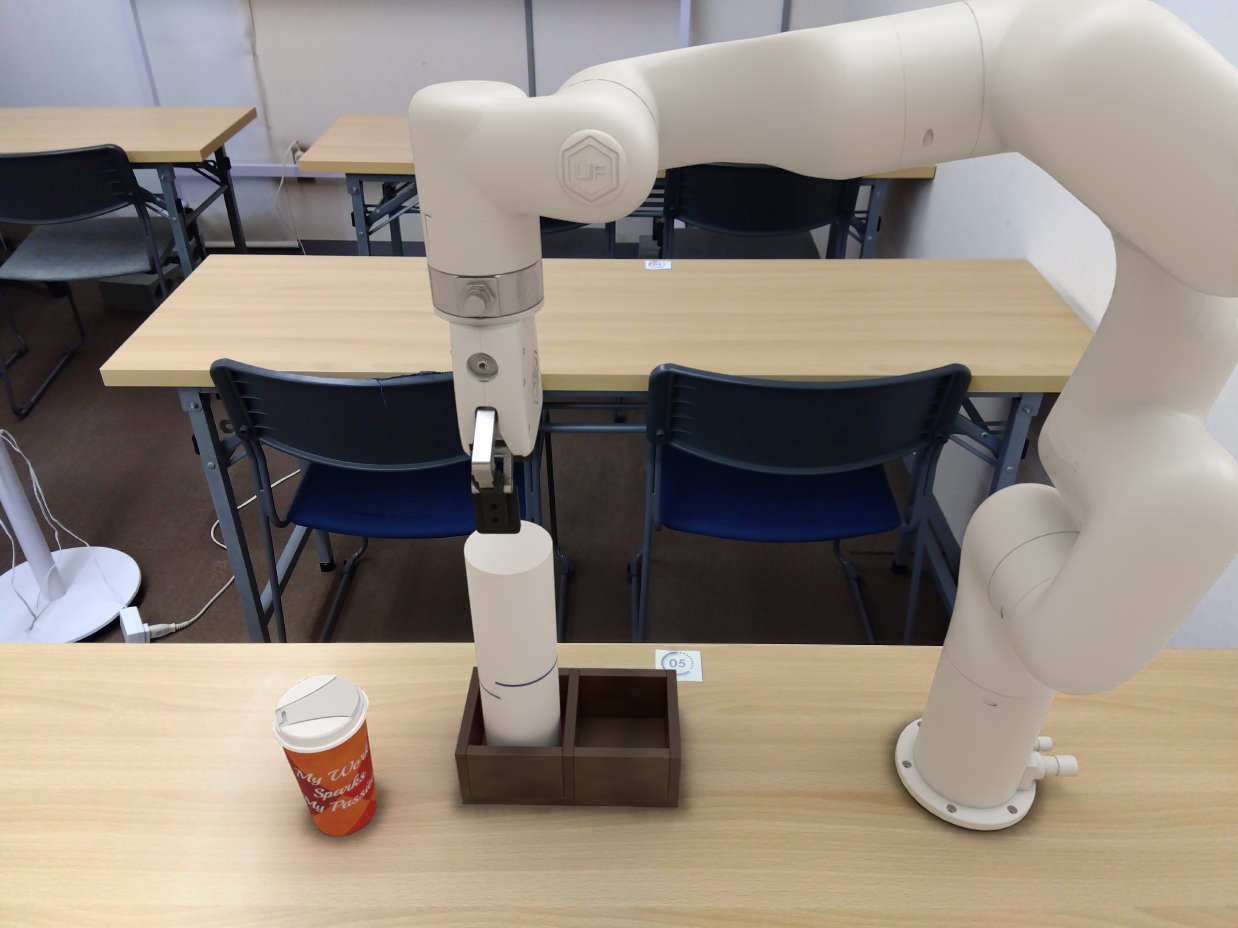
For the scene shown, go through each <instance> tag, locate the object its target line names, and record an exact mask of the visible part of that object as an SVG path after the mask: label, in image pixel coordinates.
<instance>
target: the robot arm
mask: <svg viewBox="0 0 1238 928" xmlns="http://www.w3.org/2000/svg"><path fill="white" fill-rule="evenodd" d="M407 118H408V119H407V120H408V131H409V138H410V147H411V155H412V160H413V167H414V168H413V169H414V175H415V176H414V177H415V182H416V190H417V198H418V199H417V200H418V206H419V213H420V220H421V225H422V226H421V227H422V234H423V241H424V248H425V255H426V265H427V273H428V281H429V288H430V294H431V295H430V296H431V302H432V308H433V309H432V310H433V312H434V314H435V315H436V316H437V317H438V318H440V319H441V320H444V321H446V322H448V323H449V324H448V325H449V336H450V337H449V338H450V355H451V365H452V376H453V388H454V396H455V405H456V414H457V423H458V430H459V436H460V441H461V446H462V449H463V451H464V453H466V454H467V455H468V456H470V457H471V489H470V490H471V497H472V498H471V499H472V503H473V513H474V514H473V515H474V522H475V528H476V529H475V531H476V530H477V532H478V533H480V534H518V533H519V532H520V529H521V520H522V519H521V508H520V507H521V506H520V497H519V486H518V484H514V463H516V462H517V463H518V462H519V463H523V462H525V463H529V462H532V461H533V460H534V458H535V444H536V440H537V436H538V430H539V425H540V420H541V413H542V408H543V401H544V399H543V398H544V395H543V394H544V393H543V392H544V391H543V382H542V373H541V364H540V354H539V345H538V343H539V342H538V335H537V326H536V324H537V323H536V316H535V315H536V314H537V313H538V312H539V311H541V310H542V309H543V307H544V306H545V285H544V269H543V254H542V238H541V221H540V217H546V218H551V219H556V220H562V221H567V222H574V223H581V224H594V225H595V224H596V225H597V224H607V223H612V222H615V221H619V220H620V219H623V218H625V217H628V216H629V215H630V214H633V212H635V211H636V210H637V209H638V208H639V207H640V206H642V205H643V203H644V202H645V201H646V200H647V199H648V197H649V196H650V194H651V192H652V190H653V188H654V185H655V183H656V179H657V176H658V172H659V171H662V170H663V171H664V170H669V169H675V168H681V167H682V168H683V167H687V166H694V165H701V164H709V163H710V164H712V163H723V162H724V163H725V162H743V163H757V164H763V165H768V166H772V167H777V168H779V169H780V168H781V169H783V170H785V171H789V172H792V173H795V174H799V175H802V176H806V177H813V178H819V179H827V180H850V179H855V178H861V177H867V176H872V175H879V174H884V173H890V172H896V171H901V170H908V169H913V168H920V167H921V168H922V167H926V166H932V165H938V164H945V163H950V162H956V161H962V160H963V161H964V160H969V159H975V158H982V157H988V156H994V155H1002V154H1008V153H1011V154H1012V153H1018V154H1020V155H1021V156H1022V157H1023V158H1025V159H1027V160H1028V161H1030V162H1031V163H1032V164H1034V165H1036V166H1037V167H1039V168H1040V169H1041V170H1042V171H1044V172H1045V173H1046V174H1048V175H1049V176H1050V177H1051V178H1052V179H1053V180H1055V181H1056V182H1057V183H1058V184H1059V185H1061V187H1063V188H1064V189H1065V190H1066V191H1067V192H1068V193H1069V194H1070V195H1072V196H1073V197H1074V198H1076V199H1077V200H1078V201H1079V202H1080V203H1081V204H1083V205H1084V206H1085V207H1086V208H1087V209H1089V211H1091V212H1092V213H1093V214H1094V215H1095V216H1097V217H1098V219H1099V220H1100V221H1101V222H1102V224H1103V225H1104V227H1106V228H1107V229H1108V231H1109V233H1110V235H1111V239H1112V242H1113V246H1114V247H1113V248H1114V252H1115V267H1116V268H1115V269H1116V270H1115V279H1114V286H1113V288H1112V292H1111V295H1110V296H1111V297H1110V299H1109V301H1108V304H1107V307H1106V309H1105V311H1104V313H1103V315H1102V317H1101V319H1100V322H1099V324H1098V327H1097V328H1096V330H1095V332H1094V334H1093V336H1092V338H1091V339H1090V341H1089V343H1088V344H1087V346H1086V348H1085V350H1084V351H1083V353H1082V354H1081V357H1080V359H1079V361H1078V362H1077V364H1076V366H1075V368H1074V369H1073V371H1072V373H1071V375H1070V376H1069V378H1068V380H1067V382H1066V383H1065V385H1064V387H1063V389H1062V390H1061V392H1060V394H1059V396H1058V397H1057V399H1056V401H1055V403H1054V404H1053V406H1052V408H1051V410H1050V412H1049V413H1048V415H1047V417H1046V419H1045V421H1044V423H1043V425H1042V427H1041V430H1040V432H1039V436H1038V439H1037V453H1038V457H1039V460H1040V463H1041V465H1042V467H1043V469H1044V471H1045V473H1046V474H1047V476H1048V478H1049V479H1050V481H1051V484H1053V485H1054V487H1053V486H1050V485H1046V484H1042V483H1033V482H1027V483H1025V482H1023V483H1017V484H1013V485H1009V486H1006V487H1003V488H1001V489H999V490H997V491H996V492H994V493H993V494H991V495H990V496H989V497H987V498H986V499H985V500H984V501H983V502H982V503H980V505H979V506H978V507H977V509H976V510H975V512H974V513H973V514H972V516H971V517H970V519H969V522H968V523H967V526H966V529H965V533H964V535H963V540H962V544H961V552H960V560H959V570H958V580H957V591H956V596H955V602H954V606H953V609H952V610H953V611H952V615H951V618H950V622H949V625H948V629H947V633H946V636H945V638H944V641H943V644H942V648H941V652H940V655H939V658H938V662H937V666H936V669H935V672H934V676H933V679H932V683H931V685H930V689H929V694H928V697H927V700H926V704H925V708H924V711H923V714H922V717H919V718H917V719H915V720H913V721H912V722H910V723H909V724H908V725H907V726H905V728H904V729H903V730H902V732H901V733H900V735H899V738H898V740H897V742H896V747H895V751H894V763H895V767H896V772H897V775H898V776H899V778H900V781H901V783H902V784H903V786H904V787H905V789H906V790H907V791H908V793H909V794H910V795H911V797H912V798H914V799H915V800H916V802H917V803H919V804H920V805H921V806H922V807H923V808H924V809H926V810H927V811H929V812H930V813H932V815H935V816H936V817H938V818H940V819H942V820H943V821H946V822H948V823H950V824H953V825H956V826H959V827H962V828H966V829H970V830H978V831H995V830H1001V829H1005V828H1008V827H1009V828H1010V827H1012V826H1013V825H1015V824H1017V823H1018V822H1020V821H1021V820H1022V819H1023V818H1024V817H1026V816H1027V814H1028V812H1029V811H1030V809H1031V807H1032V804H1033V802H1034V799H1035V796H1036V790H1037V789H1036V788H1037V785H1036V780H1043V779H1044V778H1045V776H1054V777H1055V778H1058V777H1060V778H1075V777H1077V776H1078V774H1079V764H1078V761H1077V759H1076V757H1075V756H1074V755H1071V754H1051V755H1042V753H1040V752H1052V751H1053V747H1054V746H1053V740H1052V738H1051V737H1050V736H1048V735H1047V736H1046V735H1045V736H1044V735H1043V736H1040V734H1041V731H1042V729H1043V726H1044V723H1045V721H1046V719H1047V716H1048V714H1049V712H1050V710H1051V706H1052V704H1053V702H1054V699H1055V696H1056V694H1057V692H1058V693H1060V694H1064V695H1069V696H1094V695H1098V694H1099V695H1100V694H1102V693H1105V692H1109V691H1111V690H1115V689H1116V688H1118V687H1120V686H1122V685H1124V684H1125V683H1127V682H1129V681H1130V680H1132V679H1134V677H1136V676H1138V674H1140V673H1141V672H1143V671H1144V670H1145V669H1146V668H1147V667H1148V666H1149V665H1150V664H1151V663H1152V662H1153V661H1154V660H1155V659H1156V658H1157V657H1158V656H1159V654H1160V653H1162V651H1163V650H1164V648H1165V647H1166V646H1167V645H1168V644H1169V642H1170V641H1171V640H1172V639H1173V637H1174V636H1175V635H1176V634H1177V632H1178V630H1180V629H1181V628H1182V626H1183V625H1184V624H1185V623H1186V621H1187V620H1188V618H1189V617H1190V616H1191V615H1192V613H1193V612H1194V611H1195V610H1196V608H1197V607H1198V606H1199V604H1200V603H1201V602H1202V601H1203V600H1204V598H1205V597H1206V596H1207V594H1208V593H1209V592H1210V590H1211V589H1212V588H1213V587H1214V585H1215V584H1216V583H1217V581H1219V579H1220V578H1221V576H1222V575H1223V574H1224V572H1226V570H1227V569H1228V567H1229V566H1230V565H1231V563H1232V562H1233V561H1234V559H1235V558H1236V556H1237V555H1238V461H1237V460H1236V459H1235V458H1234V457H1233V456H1232V455H1231V454H1230V453H1229V451H1227V449H1225V447H1224V446H1223V445H1221V444H1220V443H1219V442H1218V441H1217V440H1216V439H1215V438H1214V437H1213V436H1212V435H1211V434H1210V433H1209V432H1208V430H1207V424H1206V422H1207V418H1208V416H1209V413H1210V411H1211V409H1212V408H1213V406H1214V403H1215V402H1216V400H1217V398H1218V397H1219V396H1220V394H1221V392H1222V390H1223V389H1224V388H1225V385H1226V383H1227V382H1228V380H1229V378H1230V376H1231V375H1232V373H1233V372H1234V370H1235V368H1236V366H1237V365H1238V68H1237V67H1236V66H1235V65H1234V64H1232V63H1231V62H1230V61H1229V60H1228V59H1227V57H1225V56H1224V55H1222V53H1221V52H1219V51H1218V50H1217V49H1216V48H1215V47H1214V46H1213V45H1212V44H1211V43H1209V42H1208V41H1207V40H1206V39H1205V38H1204V37H1202V36H1201V35H1200V34H1199V33H1198V32H1197V31H1196V30H1194V29H1193V28H1192V27H1191V26H1190V25H1188V24H1187V23H1186V22H1185V21H1183V20H1182V19H1181V18H1180V17H1178V16H1177V15H1175V14H1174V13H1173V12H1171V10H1169V9H1167V8H1166V7H1164V6H1162V5H1161V4H1158V3H1157V2H1154V1H1152V0H961V1H956V2H950V3H946V4H940V5H935V6H931V7H925V8H920V9H914V10H909V11H904V12H899V13H893V14H888V15H881V16H875V17H871V18H865V19H860V20H853V21H849V22H841V23H836V24H830V25H825V26H817V27H810V28H802V29H796V30H795V29H794V30H788V31H784V32H779V33H774V34H770V35H769V34H768V35H765V36H764V35H763V36H759V37H758V36H757V37H751V38H745V39H744V38H743V39H737V40H730V41H729V40H728V41H722V42H721V41H720V42H713V43H708V44H707V43H706V44H701V45H694V46H688V47H682V48H677V49H676V48H675V49H672V50H671V49H669V50H666V51H665V50H664V51H660V52H654V53H650V54H644V55H640V56H633V57H628V58H623V59H618V60H612V61H608V62H604V63H603V62H602V63H599V64H596V65H592V66H589V67H587V68H583V69H581V70H580V71H578V72H577V73H574V74H573V75H572V76H571V77H569V78H568V79H566V81H565V82H564V83H563V84H562V85H561V86H560V87H559V89H558V90H557V91H556V92H555V93H553V94H551V95H542V96H530V97H529V96H528V95H527V94H526V92H525V91H523V90H522V89H521V88H519V87H518V86H516V85H514V84H511V83H508V82H504V81H495V80H484V79H483V80H482V79H481V80H480V79H476V80H475V79H469V80H467V79H466V80H453V81H446V82H439V83H435V84H430V85H427V86H426V87H423V88H420V89H419V90H418V91H417V92H416V93H415V94H414V95H413V96H412V98H411V100H410V102H409V105H408V110H407ZM495 461H497V462H500V463H501V462H503V473H502V472H501V470H500V469H496V463H495Z"/></svg>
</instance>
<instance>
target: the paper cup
mask: <svg viewBox="0 0 1238 928" xmlns="http://www.w3.org/2000/svg"><path fill="white" fill-rule="evenodd" d="M369 706H370V701H369V697H368V695H367V693H366V692H365V690H364V689H362V688H360V687H359V686H358V685H357V684H355V683H353V682H352V681H350V680H349V679H347V678H345V677H342V676H340V675H337V674H322V675H316V676H312V677H309V678H306V679H304V680H302V681H300V682H298V683H296V684H295V685H293V686H292V687H290V688H289V689H288V690H287V691H286V692H285V693H284V694H283V695H282V697H281V698H280V699H279V701H278V703H277V705H276V708H275V711H274V715H273V719H272V723H271V724H272V725H271V730H272V735H273V737H274V739H275V741H276V742H277V743H278V744H279V745H280V746H281V747H282V749H283V751H284V754H285V757H286V760H287V762H288V764H289V766H290V769H291V770H292V773H293V776H294V777H295V780H296V782H297V785H298V787H299V789H300V792H301V794H302V796H303V799H304V801H305V803H306V805H307V808H308V810H309V813H310V814H311V818H312V819H313V822H314V823H315V825H316V827H317V828H318V830H320V831H321V833H324V834H325V835H328V836H331V837H344V836H349V835H352V834H355V833H356V832H358V831H360V830H362V828H364V827H365V826H366V825H368V823H369V822H370V821H371V820H372V818H373V816H374V814H375V812H376V809H377V802H378V801H377V791H376V789H377V788H376V782H375V775H374V768H373V767H374V766H373V758H372V751H371V745H370V737H369V730H368V724H367V723H368V722H367V715H368V710H369Z"/></svg>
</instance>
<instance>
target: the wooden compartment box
mask: <svg viewBox="0 0 1238 928" xmlns="http://www.w3.org/2000/svg"><path fill="white" fill-rule="evenodd" d="M677 675H678V674H677V669H675V668H674V669H672V668H667V669H666V668H617V667H616V668H613V667H611V668H610V667H558V677H559V699H560V721H561V743H562V747H538V746H487V743H486V734H485V726H484V717H483V709H482V700H481V691H480V683H479V674H478V666H476V665H475V666H473V667H472V671H471V676H470V681H469V685H468V689H467V695H466V699H465V703H464V710H463V714H462V717H461V722H460V727H459V732H458V736H457V740H456V745H455V751H454V759H455V767H456V771H457V772H456V773H457V779H458V785H459V792H460V796H461V797H460V798H461V803H462V804H473V805H475V804H476V805H477V804H481V805H534V806H535V805H537V806H538V805H539V806H540V805H541V806H546V805H547V806H596V807H597V806H599V807H601V806H603V807H654V808H655V807H657V808H658V807H659V808H678V807H679V797H680V782H681V780H680V779H681V769H682V767H681V766H682V748H681V747H682V746H681V745H682V744H681V729H680V728H681V727H680V726H681V725H680V708H679V693H678V690H679V689H678V676H677Z"/></svg>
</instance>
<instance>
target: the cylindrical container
mask: <svg viewBox="0 0 1238 928" xmlns="http://www.w3.org/2000/svg"><path fill="white" fill-rule="evenodd" d="M463 546H464V547H463V554H464V555H463V556H464V562H465V563H464V564H465V571H466V579H467V588H468V589H467V590H468V597H469V605H470V606H469V607H470V615H471V622H472V623H471V624H472V632H473V640H474V648H475V656H476V657H475V658H476V665H477V666H478V674H479V683H480V691H481V700H482V709H483V717H484V726H485V734H486V743H487V746H538V747H562V743H561V721H560V699H559V677H558V668H559V659H558V656H559V655H558V637H557V636H558V635H557V633H558V632H557V614H556V613H557V612H556V611H557V610H556V590H555V589H556V588H555V569H554V567H555V566H554V549H553V548H554V546H553V539H552V537H551V535H550V533H549V532H548V531H547V530H546V529H545V528H543V526H541V525H539V524H537V523H534V522H531V521H529V520H528V521H527V520H522V519H521V529H520V532H519V533H518V534H480V533H478V532H477V530H476V529H475V531H474V532H472V533H471V534H470V535H469V536H468V538H466V541H465V542H464V545H463Z"/></svg>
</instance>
